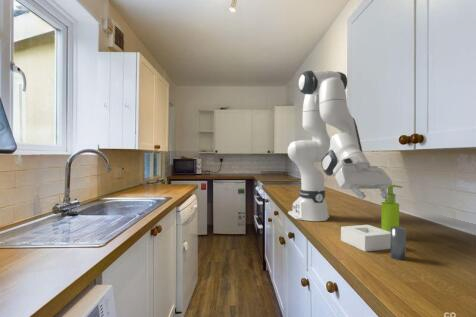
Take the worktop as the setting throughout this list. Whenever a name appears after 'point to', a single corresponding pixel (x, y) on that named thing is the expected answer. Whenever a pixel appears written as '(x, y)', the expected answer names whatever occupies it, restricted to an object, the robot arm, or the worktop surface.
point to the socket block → (366, 237)
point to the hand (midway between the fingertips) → (374, 197)
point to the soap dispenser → (390, 211)
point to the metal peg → (398, 243)
